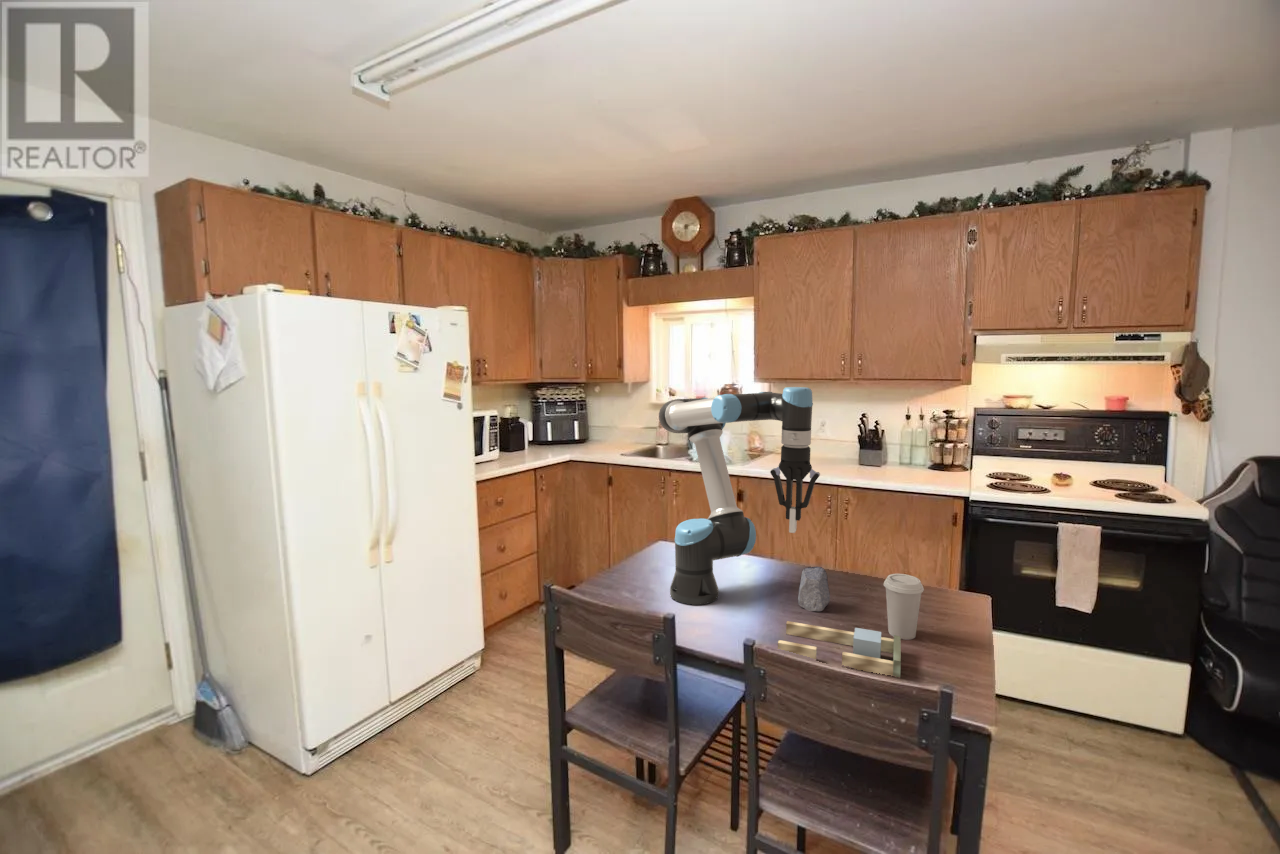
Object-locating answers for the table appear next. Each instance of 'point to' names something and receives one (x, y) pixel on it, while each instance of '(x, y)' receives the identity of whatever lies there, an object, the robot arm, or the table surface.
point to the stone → (813, 589)
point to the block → (867, 643)
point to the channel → (847, 639)
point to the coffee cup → (903, 604)
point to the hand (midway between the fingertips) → (792, 531)
